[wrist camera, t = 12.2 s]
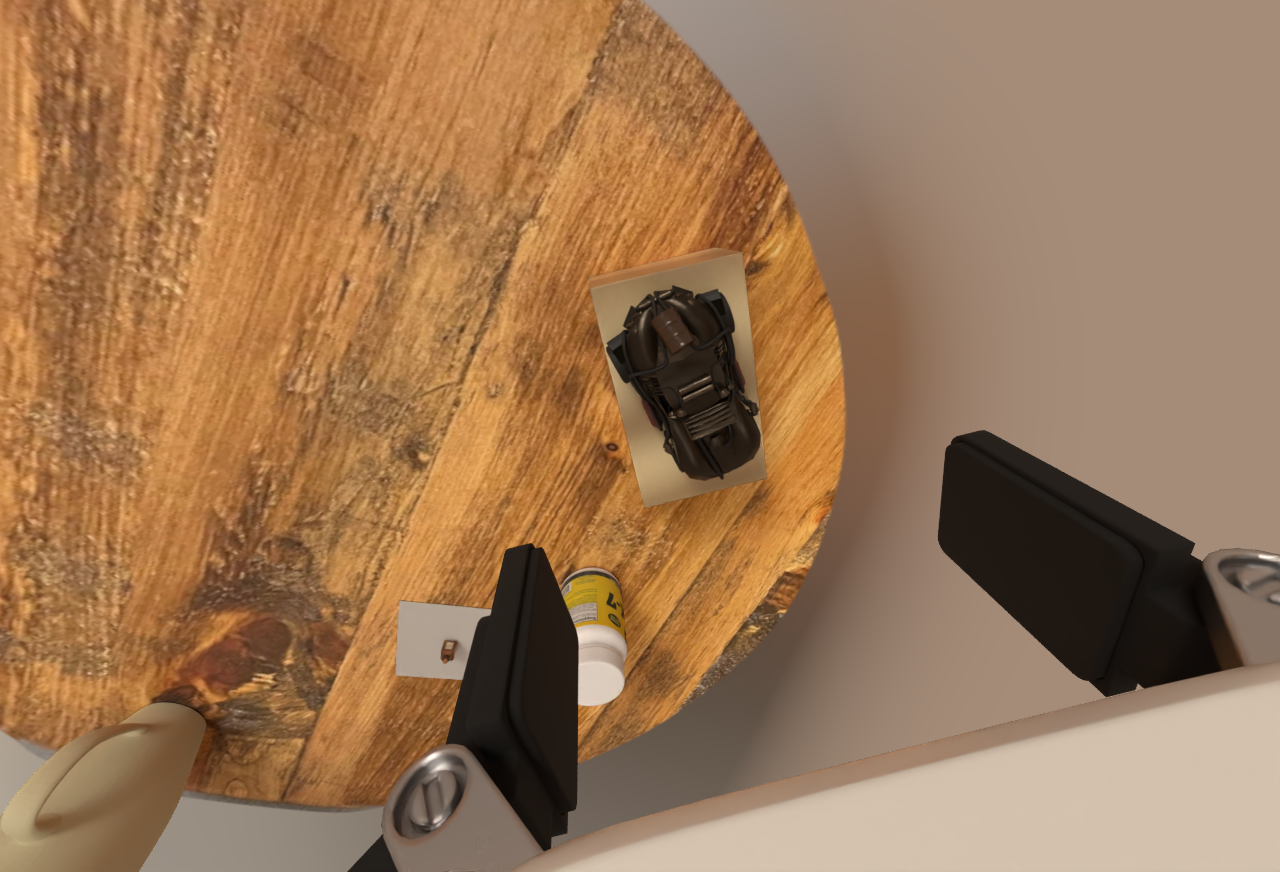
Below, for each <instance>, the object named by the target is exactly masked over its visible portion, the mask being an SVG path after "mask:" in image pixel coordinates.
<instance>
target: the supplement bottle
mask: <svg viewBox="0 0 1280 872" xmlns="http://www.w3.org/2000/svg"><path fill="white" fill-rule="evenodd" d="M560 591H561V593H562V596H563V598H564V600H565V603H566V605H567V608H568V610H569V613H570V615H571V618H572V620H573V623H574V625H575V628H576V631H577V635H578V642H579V665H578V704H579V705H583V706H597V705H602V704H605V703H608V702H610V701H612V700H613V699H615V698H616V697H617V696H618V695H619V694H620V693H621V691H622V689H623V687H624V682H625V679H624V662H625V660H626V656H627V641H626V632H625V622H624V611H623V602H622V592H621V586H620V584H619V582H618V580H617V579H616V577H615V576H614V575H613V574H612V573H610V572H609V571H607V570H604V569H601V568H584V569H581V570H578V571H576V572H574V573H572V574H571V575H569V576H568V577H567V578H566V579H565V581H564V582H563V584H562V587H561V590H560Z"/></svg>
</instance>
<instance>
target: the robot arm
mask: <svg viewBox="0 0 1280 872" xmlns="http://www.w3.org/2000/svg"><path fill="white" fill-rule="evenodd" d="M938 541H939V544H940V547H941V548H942V550H943V551H944V553H945V554H946V555H947V556H948V557H950V558H951V559H952V560H953V561H954V562H955V563H956V564H957V565H958V566H959V567H960V568H961V569H962V570H963V571H964V572H966V573H967V574H968V575H969V576H970V577H971V578H972V579H973V580H974V581H975V582H976V583H977V584H978V585H979V586H981V587H982V589H984V590H985V591H986V592H987V593H988V594H989V595H990V596H991V597H992V598H993V599H994V600H995V601H996V602H997V603H998V604H1000V605H1001V606H1002V607H1003V608H1004V609H1005V610H1006V611H1007V612H1008V613H1009V614H1010V615H1011V616H1012V617H1013V618H1014V619H1016V620H1017V621H1018V622H1019V623H1020V624H1021V625H1022V626H1023V627H1024V628H1025V629H1026V630H1027V631H1029V633H1031V634H1032V635H1033V636H1034V637H1035V638H1036V639H1037V640H1038V641H1039V642H1040V643H1041V644H1042V645H1043V646H1044V647H1045V648H1047V650H1048V651H1050V652H1051V653H1052V654H1053V655H1054V656H1055V657H1056V658H1057V659H1058V660H1059V661H1060V662H1061V663H1062V664H1063V665H1064V666H1065V667H1067V668H1068V669H1069V670H1070V671H1071V672H1072V673H1073V674H1074V675H1076V676H1077V677H1078V678H1080V679H1082V680H1086V681H1089V682H1090V683H1091V684H1092V685H1094V686H1095V687H1096V688H1097V689H1098V690H1099V691H1100V692H1101V693H1102V694H1103V695H1104V696H1106V697H1109V696H1113V695H1117V694H1121V693H1125V692H1129V691H1133V690H1135V689H1136V687H1137V684H1139V685H1141V686H1142V687H1143V688H1144V689H1141V690H1137V691H1133V692H1129V693H1125V694H1121V695H1118V696H1113V697H1109V698H1105V699H1101V700H1097V701H1093V702H1089V703H1085V704H1081V705H1077V706H1072V707H1068V708H1064V709H1060V710H1057V711H1052V712H1048V713H1044V714H1040V715H1036V716H1032V717H1028V718H1024V719H1020V720H1016V721H1011V722H1007V723H1003V724H999V725H996V726H992V727H988V728H984V729H980V730H976V731H972V732H968V733H964V734H960V735H956V736H952V737H948V738H944V739H940V740H936V741H932V742H928V743H924V744H920V745H916V746H912V747H908V748H905V749H900V750H896V751H892V752H888V753H884V754H881V755H877V756H873V757H869V758H865V759H861V760H857V761H853V762H849V763H845V764H841V765H837V766H833V767H829V768H825V769H822V770H818V771H814V772H810V773H806V774H802V775H798V776H795V777H791V778H787V779H783V780H779V781H775V782H771V783H768V784H764V785H760V786H756V787H752V788H748V789H744V790H740V791H736V792H733V793H729V794H725V795H721V796H717V797H714V798H710V799H706V800H702V801H698V802H695V803H691V804H688V805H684V806H680V807H677V808H673V809H670V810H666V811H662V812H659V813H655V814H652V815H648V816H645V817H641V818H638V819H634V820H630V821H627V822H623V823H619V824H616V825H613V826H610V827H607V828H604V829H601V830H598V831H595V832H592V833H589V834H586V835H584V836H581V837H577V838H575V839H572V840H569V841H567V842H565V843H562V844H560V845H558V846H556V847H553V848H551V837H554V836H558V835H562V834H566V833H567V826H568V812H569V811H573V810H575V809H576V805H577V765H578V665H579V642H578V635H577V631H576V628H575V625H574V623H573V620H572V618H571V615H570V613H569V610H568V608H567V605H566V603H565V600H564V598H563V596H562V593H561V591H560V588H559V586H558V583H557V581H556V578H555V576H554V573H553V571H552V568H551V566H550V563H549V561H548V559H547V556H546V554H545V551H544V549H543V548H542V547H540V548H536V549H535V547H534V545H533V544H532V543H529V544H525V545H521V546H517V547H513V548H509V549H507V550H506V551H505V554H504V558H503V562H502V567H501V571H500V575H499V580H498V584H497V588H496V593H495V597H494V601H493V606H492V610H491V614H490V615H489V616H485V617H482V618H481V619H480V620H479V621H478V623H477V626H476V629H475V633H474V637H473V641H472V645H471V649H470V652H469V656H468V660H467V664H466V668H465V672H464V676H463V680H462V683H461V687H460V691H459V695H458V699H457V703H456V707H455V711H454V714H453V718H452V722H451V726H450V730H449V734H448V738H447V742H446V745H442V746H439V747H437V748H435V749H432V750H430V751H428V752H426V753H425V754H424V755H422V756H421V757H420V758H418V759H417V760H416V761H414V762H413V763H412V764H411V765H410V766H409V767H408V768H407V770H406V771H405V772H404V773H403V774H402V775H401V776H400V778H399V779H398V781H397V782H396V784H395V785H394V787H393V789H392V790H391V792H390V794H389V797H388V799H387V802H386V804H385V807H384V810H383V817H382V824H381V826H382V831H383V834H382V835H381V837H380V838H379V839H378V840H377V841H376V842H375V843H374V844H373V845H372V846H371V847H370V848H369V849H368V850H367V851H366V853H365V854H364V855H363V856H362V857H361V858H360V859H359V860H358V861H357V862H356V863H355V864H354V865H353V866H352V867H351V869H350V870H349V871H348V872H1280V554H1274V553H1269V552H1265V551H1260V550H1252V549H1241V548H1233V549H1220V550H1218V551H1215V552H1212V553H1209V554H1208V555H1207V556H1206V558H1205V559H1204V560H1203V561H1201V560H1199V559H1197V558H1195V557H1194V556H1192V555H1191V553H1192V550H1193V548H1194V545H1195V543H1194V542H1192V541H1190V540H1188V539H1186V538H1185V537H1183V536H1181V535H1179V534H1177V533H1175V532H1173V531H1171V530H1170V529H1168V528H1166V527H1164V526H1162V525H1160V524H1159V523H1157V522H1155V521H1153V520H1151V519H1149V518H1147V517H1146V516H1143V515H1142V514H1140V513H1138V512H1136V511H1134V510H1133V509H1131V508H1129V507H1127V506H1125V505H1123V504H1122V503H1119V502H1118V501H1116V500H1114V499H1112V498H1110V497H1109V496H1107V495H1105V494H1103V493H1101V492H1099V491H1097V490H1095V489H1094V488H1092V487H1090V486H1088V485H1086V484H1084V483H1083V482H1081V481H1079V480H1077V479H1075V478H1073V477H1071V476H1069V475H1068V474H1066V473H1064V472H1062V471H1060V470H1058V469H1057V468H1055V467H1053V466H1051V465H1049V464H1047V463H1045V462H1044V461H1042V460H1040V459H1038V458H1036V457H1034V456H1032V455H1031V454H1029V453H1027V452H1025V451H1023V450H1021V449H1020V448H1018V447H1016V446H1014V445H1012V444H1010V443H1008V442H1007V441H1005V440H1003V439H1001V438H999V437H997V436H995V435H994V434H992V433H990V432H987V431H985V430H983V431H976V432H972V433H968V434H964V435H960V436H957V437H955V438H954V439H953V440H952V442H951V445H949V446H948V447H947V448H946V451H945V461H944V473H943V485H942V496H941V507H940V518H939V529H938Z"/></svg>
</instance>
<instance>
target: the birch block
mask: <svg viewBox="0 0 1280 872" xmlns="http://www.w3.org/2000/svg"><path fill="white" fill-rule="evenodd" d="M672 285H674V286H677V287H680V288H683V289H686V290H689V291H692V292H693V294H694V297H693V298H695V296H696V294H698V293H700V294H702V293H705V292H708V291H711V290H715V289H718V291H719V292H721V293H722V294H723V295H724V296H725V298H726V300H727V302H728V304H729V306H730V309H731V312H732V315H733V318H734V323H735V332H734V333H732V338H733V342H734V347H735V354H736V360H737V362H738V363H739V366H740V369H741V371H742V374H743V376H744V378H745V381H746V384H745V386H744V390H745V393H742V392H741V390H739V392H740V393H741V395H744V397H745V396H746V397H745V398H746V399H747V397H748V400H751V401H752V402H754V403H757V404H756V405H757V407H758V408H759V399H758V390H757V381H756V371H755V362H754V353H753V344H752V335H751V325H750V316H749V307H748V298H747V288H746V279H745V270H744V261H743V253H742V252H738V251H732V250H727V249H721V248H716V247H715V248H711V249H706V250H702V251H698V252H694V253H690V254H685V255H681V256H677V257H673V258H669V259H664V260H660V261H656V262H652V263H648V264H643V265H639V266H635V267H631V268H627V269H622V270H618V271H614V272H610V273H606V274H601V275H597V276H593V277H589V289H590V293H591V297H592V301H593V305H594V309H595V313H596V317H597V321H598V325H599V329H600V333H601V337H602V341H603V345H604V349H605V353H606V357H607V361H608V365H609V369H610V373H611V377H612V381H613V385H614V389H615V393H616V397H617V401H618V405H619V409H620V413H621V417H622V421H623V425H624V429H625V433H626V437H627V441H628V445H629V449H630V453H631V457H632V461H633V465H634V469H635V473H636V477H637V481H638V485H639V489H640V493H641V497H642V501H643V505H644V508H648V507H652V506H656V505H660V504H665V503H669V502H673V501H677V500H681V499H685V498H689V497H693V496H697V495H701V494H706V493H710V492H714V491H718V490H722V489H726V488H730V487H734V486H738V485H742V484H747V483H751V482H755V481H759V480H763V479H767V473H766V464H765V455H764V445H763V436H762V427H761V418H760V408H759V412H758V415H757V416H753V417H754V419H755V422H756V424H757V426H758V428H759V431H760V433H761V437H760V438H761V443H760V447H761V448H759V451H758V452H757V454H756V455H755V457H754V459H753V460H750V461H749V462H747V463H746V464H744V465H742V466H741V467H739V468H737V469H735V470H733V471H731V472H730V473H726V474H724V479H723V480H721V479H720V477H716V478H713V479H709V480H708V479H707V480H706V481H702V480H697V479H695V480H694V479H691V478H689V476H688V475H687V474H686V473H685V472H683V473H682V472H681V471H680V470H679V468H678V467H677V465H676V463H675V461H674V459H673V457H672V455H670V454H668V453H666V452H665V451H664V450H665V448H663V444H664V440H665V437H664V431H665V427H664V424H662V425H663V426H662V428H663V431H660V430H659V429H658V428H656V427H653V426H652V425H651V423H650V421H649V418H648V416H647V414H646V412H645V410H644V409H643V405H642V398H641V397H640V395H639V394H638V393H637V392H636V391H635V389H634V388H633V386H632V385H631V383H630V382H629V383H627V384H626V383H625V382H623V380H622V379H621V377H620V375H619V374H618V372H617V370H616V369H615V367H614V365H613V363H612V361H611V359H610V358H609V356H608V354H607V351H606V347H607V346H608V345H607V344H606V343H607V342H608V341H610V340H611V339H613V338H614V337H616V336H617V335H618V334H620V333H621V332H622V331H623V330H628V329H626V328H625V327H623V324H624V321H625V319H626V317H627V314H628V312H629V309H630V307H631V306H633V307H636V306H637V305H638V304H639V303H640V302H641V301H642V300H643V299H644V298H645V297H646V296H647V295H648V294H651V295H652V296H654V294H653V292H654V291H662V290H669V289H672ZM673 298H674V295H673ZM640 313H641V312H640ZM721 344H722V340H721V341H720V343H719V344H718V347H719V346H720V345H721ZM725 344H726V343H725ZM722 347H723V346H722ZM722 347H721V348H722ZM721 348H720V349H721ZM720 349H719V351H720ZM726 351H727V348H726ZM714 352H715V350H714ZM722 352H723V350H722V351H721V352H720V353H719V354H720V356H721V354H722ZM715 355H716V354H715ZM721 359H722V357H721ZM722 363H723V360H722ZM723 368H724V366H723ZM724 371H725V370H724ZM725 374H726V376H727V373H726V371H725ZM642 380H643V381H646V380H649V378H642ZM646 383H651V382H646ZM726 384H727V385H728V384H729V383H728V382H727V381H726ZM642 385H643V384H642ZM647 386H648V387H653V386H652V385H647ZM644 388H645V387H644ZM645 389H646V388H645ZM649 389H650V390H654V389H653V388H649ZM646 391H647V390H646ZM735 392H736V391H735ZM652 393H653V394H656V392H652ZM736 395H737V394H736ZM655 396H656V398H657V399H658V397H657V395H655ZM738 399H739V398H738ZM658 400H659V399H658ZM659 402H660V401H659ZM740 402H741V401H740ZM742 403H743V402H742ZM742 403H741V404H742ZM743 405H744V407H745V410H747V409H749V407H747V406H746V405H745V404H744V403H743ZM658 406H659V405H658ZM659 408H660V407H659ZM660 409H661V408H660ZM662 412H663V411H662ZM670 427H671V426H670ZM671 430H672V429H671ZM672 434H673V432H672ZM673 437H674V436H673ZM674 441H675V440H674ZM669 443H670V444H672V442H671V439H669Z"/></svg>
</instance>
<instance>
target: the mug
mask: <svg viewBox="0 0 1280 872" xmlns="http://www.w3.org/2000/svg"><path fill="white" fill-rule="evenodd" d="M205 731H206V722H205V720H204V718H203V717H202V716H201V715H200V714H199V713H198V712H196V711H195V710H193V709H191V708H189V707H186V706H184V705H180V704H176V703H166V702H163V703H154V704H150V705H147V706H145V707H143V708H141V709H140V710H138V711H137V712H136V713H134V714H133V715H131V716H130V717H128V718H127V719H125V720H124V721H122V722H121V723H120V724H118V725H113V726H108V727H104V728H101V729H97V730H94V731H91V732H89V733H86V734H84V735H82V736H80V737H78V738H76V739H74V740H73V741H71V742H70V743H68V744H67V745H65V746H64V747H63V748H61V749H60V750H59V751H58V752H56V753H55V754H54V755H53V756H52V757H51V758H49V759H48V760H47V761H46V762H45V763H44V764H43V765H42V766H41V767H40V768H39V769H38V770H37V771H36V772H35V773H34V774H33V775H32V776H31V777H30V778H29V779H28V781H27V782H26V783H25V784H24V785H23V786H22V787H21V788H20V789H19V791H18V792H17V793H16V795H15V796H14V797H13V799H12V800H11V802H10V803H9V804H8V806H7V808H6V810H5V812H4V813H3V814H2V815H1V816H0V872H139V870H140V869H141V867H142V866H143V864H144V862H145V861H146V859H147V857H148V856H149V854H150V853H151V851H152V849H153V848H154V846H155V845H156V843H157V841H158V839H159V838H160V836H161V834H162V833H163V831H164V829H165V828H166V826H167V824H168V822H169V820H170V819H171V817H172V814H173V813H174V811H175V808H176V807H177V804H178V802H179V800H180V798H181V795H182V793H183V790H184V788H185V785H186V783H187V780H188V777H189V774H190V772H191V769H192V766H193V764H194V761H195V758H196V756H197V753H198V750H199V748H200V745H201V742H202V739H203V737H204V734H205Z"/></svg>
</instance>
